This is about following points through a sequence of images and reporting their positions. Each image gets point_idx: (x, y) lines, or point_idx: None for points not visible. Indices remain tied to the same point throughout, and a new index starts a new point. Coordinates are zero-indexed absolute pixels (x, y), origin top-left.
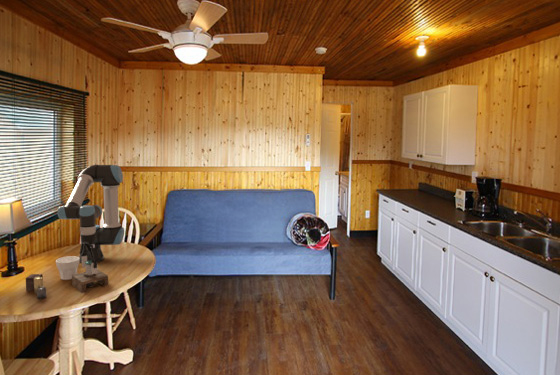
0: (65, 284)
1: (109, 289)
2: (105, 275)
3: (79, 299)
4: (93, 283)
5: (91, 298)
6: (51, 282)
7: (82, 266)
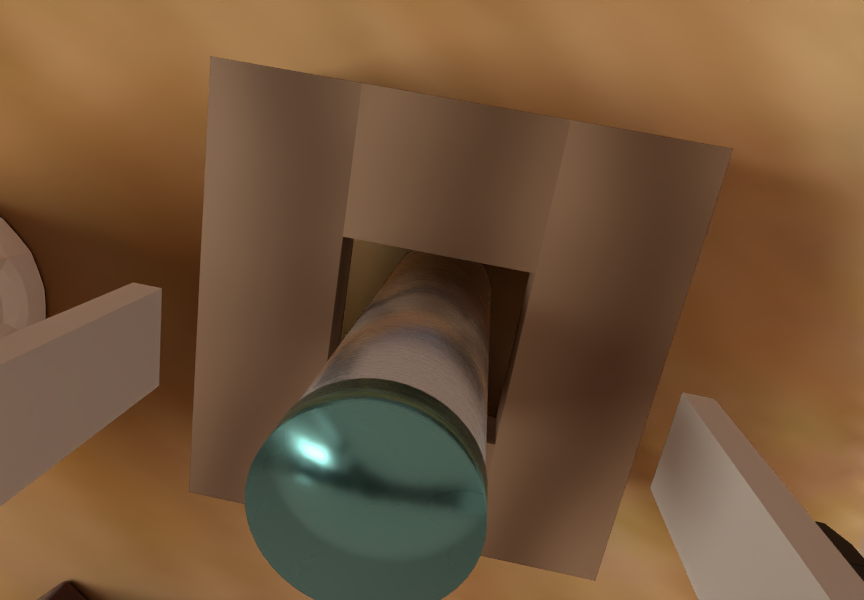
0: (173, 435)
1: (809, 224)
2: (689, 181)
3: None
4: (485, 281)
5: (826, 517)
6: None
7: (137, 396)
